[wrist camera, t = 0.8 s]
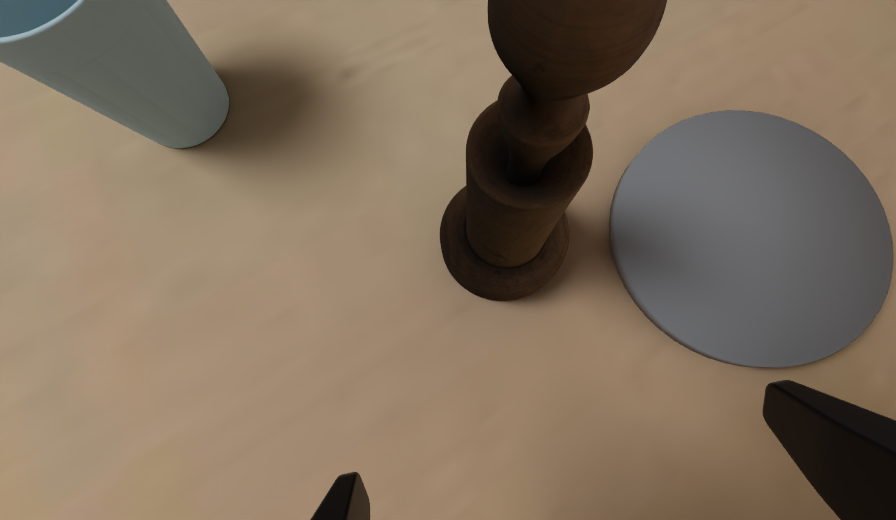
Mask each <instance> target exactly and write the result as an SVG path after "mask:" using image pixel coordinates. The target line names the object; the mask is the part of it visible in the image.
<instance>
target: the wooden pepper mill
mask: <svg viewBox="0 0 896 520" xmlns="http://www.w3.org/2000/svg"><path fill="white" fill-rule="evenodd" d="M666 3H667V0H488V25H489V30H490V34H491V38H492V42H493V44H494V47H495V49H496V51H497V54H498V56H499V57H500V59H501V61H502V62H503V64H504V65H505V67H506V68H507V69H508V71H509V72H510V73H511V74H512V76H511V77H510V78H509V79H508V80H507V81H506V82H505V83H504V85H503V86H502V88H501V90H500V93H499V96H498V100H497V101H495V102H494V103H493V104H491V105H490V106H488V107H487V108H486V109H485V110H484V111H483V112H482V113H481V114H480V115H479V116H478V118H477V119H476V121H475V122H474V123H473V125H472V127H471V130H470V132H469V135H468V139H467V144H466V185H467V186H465V187H464V188H463V189H461V190H460V191H459V192H458V193H457V194H456V195H455V196H454V197H453V199H452V200H451V201H450V203H449V204H448V206H447V208H446V210H445V212H444V215H443V218H442V221H441V227H440V243H441V249H442V254H443V258H444V261H445V264H446V266H447V268H448V270H449V272H450V273H451V275H452V276H453V277H454V279H455V280H456V281H457V282H458V283H459V284H460V285H461V286H462V287H464V288H465V289H466V290H468V291H469V292H471V293H473V294H475V295H477V296H479V297H482V298H485V299H489V300H496V301H507V300H514V299H519V298H522V297H525V296H527V295H529V294H531V293H533V292H535V291H536V290H538V289H539V288H541V287H542V286H543V285H544V284H545V283H546V282H547V281H548V280H549V279H550V278H551V277H552V276H553V275H554V274H555V272H556V271H557V270H558V268H559V267H560V265H561V264H562V262H563V260H564V257H565V255H566V252H567V248H568V243H569V226H568V221H567V218H566V215H565V213H564V211H565V210H566V208H567V207H568V205H569V204H570V202H571V201H572V199H573V198H574V197H575V195H576V194H577V192H578V191H579V189H580V188H581V186H582V185H583V183H584V182H585V180H586V178H587V177H588V174H589V172H590V169H591V165H592V159H593V146H592V140H591V136H590V133H589V131H588V128H587V126H586V121H587V118H588V115H589V110H590V104H589V98H588V94H587V93H590V92H593V91H595V90H598V89H600V88H602V87H604V86H606V85H608V84H610V83H611V82H613V81H615V80H616V79H617V78H619V77H620V76H621V75H623V74H624V73H625V72H626V71H628V70H629V69H630V68H631V67H632V66H633V65H634V63H635V62H636V61H637V60H638V59H639V57H640V56H641V55H642V54H643V52H644V51H645V50H646V48H647V47H648V45H649V44H650V42H651V41H652V39H653V37H654V35H655V33H656V31H657V29H658V27H659V25H660V22H661V20H662V17H663V14H664V10H665V7H666Z"/></svg>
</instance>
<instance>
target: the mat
mask: <svg viewBox="0 0 896 520" xmlns="http://www.w3.org/2000/svg"><path fill="white" fill-rule="evenodd" d="M609 236H610V245H611V250H612V256H613V259H614V262H615V265H616V268H617V271H618V274H619V276H620V278H621V280H622V282H623V284H624V286H625V288H626V290H627V291H628V293H629V294H630V296H631V298H632V299H633V301H634V302H635V304H636V305H637V306H638V307H639V308H640V310H641V311H642V312H643V313H644V315H645V316H646V317H647V318H648V319H649V320H650V321H651V322H652V323H653V324H654V325H655V326H656V327H658V328H659V329H660V330H661V331H662V332H664V333H665V334H666V335H668V336H669V337H670V338H672V339H673V340H674V341H676V342H678V343H679V344H681V345H683V346H684V347H686V348H688V349H690V350H691V351H694V352H696V353H698V354H701V355H703V356H705V357H708V358H711V359H714V360H717V361H721V362H724V363H728V364H734V365H740V366H750V367H775V368H778V367H789V366H798V365H802V364H806V363H810V362H815V361H817V360H820V359H822V358H825V357H827V356H830V355H832V354H834V353H835V352H837V351H839V350H841V349H842V348H844V347H846V346H847V345H849V344H850V343H851V342H852V341H854V340H855V339H856V338H857V337H858V336H860V335H861V334H862V333H863V331H864V330H865V329H866V328H867V327H868V326H869V325H870V324H871V323H872V321H873V319H874V318H875V316H876V315H877V313H878V312H879V310H880V309H881V306H882V304H883V302H884V300H885V297H886V295H887V293H888V289H889V285H890V281H891V277H892V268H893V243H892V237H891V232H890V227H889V223H888V220H887V217H886V214H885V211H884V208H883V206H882V204H881V202H880V200H879V198H878V196H877V194H876V192H875V191H874V189H873V187H872V186H871V184H870V183H869V181H868V180H867V178H866V177H865V176H864V174H863V173H862V172H861V171H860V170H859V168H858V167H857V166H856V165H855V163H853V162H852V161H851V160H850V159H849V158H848V157H847V156H846V155H845V154H844V153H843V152H842V151H841V150H840V149H838V148H837V147H836V146H834V145H833V144H832V143H831V142H829V141H828V140H827V139H825V138H823V137H822V136H820V135H819V134H817V133H815V132H814V131H812V130H810V129H808V128H806V127H804V126H802V125H800V124H797V123H795V122H792V121H790V120H787V119H784V118H781V117H778V116H774V115H769V114H765V113H760V112H752V111H731V110H728V111H718V112H710V113H706V114H702V115H697V116H694V117H691V118H688V119H686V120H683V121H680V122H679V123H677V124H675V125H673V126H671V127H669V128H667V129H666V130H664V131H663V132H661V133H660V134H658V135H657V136H656V137H654V138H653V139H652V140H651V141H650V142H649V143H648V144H647V145H646V146H645V147H644V148H643V149H642V150H641V151H640V152H639V153H638V155H637V156H636V157H635V158H634V159H633V161H632V162H631V163H630V164H629V166H628V167H627V168H626V170H625V172H624V174H623V175H622V177H621V179H620V181H619V183H618V185H617V188H616V190H615V193H614V196H613V200H612V204H611V209H610V219H609Z"/></svg>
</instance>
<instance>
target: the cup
mask: <svg viewBox="0 0 896 520" xmlns="http://www.w3.org/2000/svg"><path fill="white" fill-rule="evenodd" d="M0 62H2V63H4V64H6V65H7V66H9V67H12V68H14V69H16V70H18V71H20V72H22V73H24V74H26V75H28V76H29V77H31V78H33V79H35V80H37V81H39V82H41V83H43V84H45V85H47V86H49V87H51V88H53V89H55V90H56V91H58V92H60V93H62V94H64V95H66V96H68V97H70V98H72V99H74V100H76V101H78V102H80V103H82V104H83V105H85V106H87V107H89V108H91V109H93V110H95V111H97V112H99V113H101V114H103V115H105V116H107V117H108V118H110V119H112V120H114V121H116V122H118V123H120V124H122V125H124V126H126V127H128V128H130V129H132V130H134V131H135V132H137V133H139V134H141V135H143V136H145V137H147V138H149V139H151V140H153V141H155V142H157V143H159V144H162V145H165V146H168V147H172V148H187V147H192V146H195V145H198V144H200V143H202V142H204V141H206V140H207V139H209V138H210V137H212V136H213V135H214V134H215V133H216V132H217V131H218V130H219V128H220V127H221V126H222V124H223V123H224V121H225V119H226V116H227V113H228V108H229V98H228V94H227V90H226V87H225V85H224V84H223V82H222V81H221V79H220V78H219V76H218V75H217V73H216V72H215V70H214V69H213V67H212V66H211V64H210V63H209V61H208V60H207V59H206V57H205V56H204V54H203V53H202V51H201V50H200V48H199V47H198V45H197V44H196V43H195V41H194V40H193V38H192V37H191V35H190V34H189V32H188V31H187V30H186V28H185V27H184V25H183V24H182V22H181V21H180V19H179V18H178V16H177V15H176V14H175V12H174V11H173V9H172V8H171V6H170V5H169V3H168V2H167V1H166V0H0Z"/></svg>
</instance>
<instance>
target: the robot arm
mask: <svg viewBox="0 0 896 520" xmlns="http://www.w3.org/2000/svg"><path fill="white" fill-rule="evenodd" d="M763 416H764V419H765V421H766V423H767V425H768V426H769V428H770V429H771V430H772V432H773V433H774V434H775V436H776V437H777V438H778V440H779V441H780V443H781V444H782V445H783V447H784V448H785V449H786V451H787V452H788V454H789V455H790V456H791V458H792V459H793V460H794V462H795V463H796V464H797V466H798V467H799V469H800V470H801V471H802V473H803V474H804V475H805V477H806V478H807V480H808V481H809V482H810V483H811V485H812V486H813V487H814V489H815V490H816V491H817V492H818V494H819V495H820V496H821V497H822V498H823V500H824V501H825V502H826V503H827V504H828V506H829V507H830V508H831V509H832V510H833V511H834V512H835V514H836V515H837V516H838V517H839V518H840V519H841V520H896V421H895V420H893V419H890V418H888V417H885V416H882V415H880V414H877V413H874V412H872V411H869V410H867V409H864V408H861V407H859V406H856V405H854V404H851V403H848V402H846V401H843V400H841V399H838V398H835V397H833V396H830V395H827V394H825V393H822V392H820V391H817V390H814V389H812V388H809V387H807V386H804V385H801V384H799V383H796V382H793V381H790V380H782V381H778V382H773V383H770V384H768V385H767V386H766V389H765V397H764V404H763ZM311 520H370V503H369V498H368V495H367V492H366V490H365V487H364V484H363V482H362V479H361V477H360V475H359V473H357V472H352V473H347V474H342V475H340V476H339V477H338V478H337V479H336V480H335V482H334V484H333V485H332V487H331V488H330V490H329V491H328V493H327V495H326V496H325V498H324V499H323V501H322V502H321V504H320V506H319V507H318V509H317V510H316V512H315V513H314V515H313V517H312V518H311Z"/></svg>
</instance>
